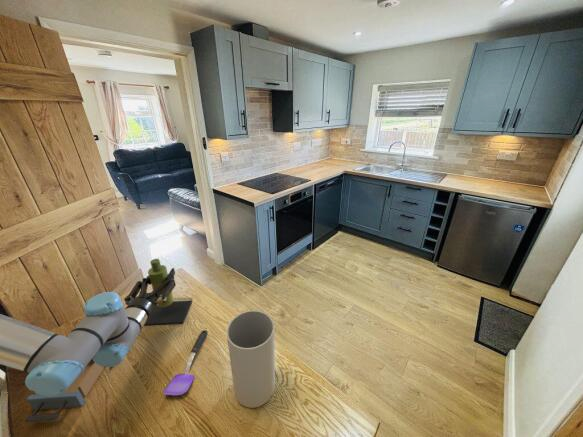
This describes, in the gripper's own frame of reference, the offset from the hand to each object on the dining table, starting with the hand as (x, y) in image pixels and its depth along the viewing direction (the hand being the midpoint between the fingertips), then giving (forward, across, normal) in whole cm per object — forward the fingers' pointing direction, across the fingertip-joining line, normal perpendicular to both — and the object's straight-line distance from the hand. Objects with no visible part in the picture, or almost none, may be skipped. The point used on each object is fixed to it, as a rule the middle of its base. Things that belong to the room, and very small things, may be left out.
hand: (164, 271), depth 97 cm
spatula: (-27, +16, -18) cm, 37 cm away
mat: (-5, 0, -18) cm, 19 cm away
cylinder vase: (-37, +38, -18) cm, 56 cm away
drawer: (-35, -16, -17) cm, 42 cm away
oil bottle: (-5, 0, -12) cm, 13 cm away
